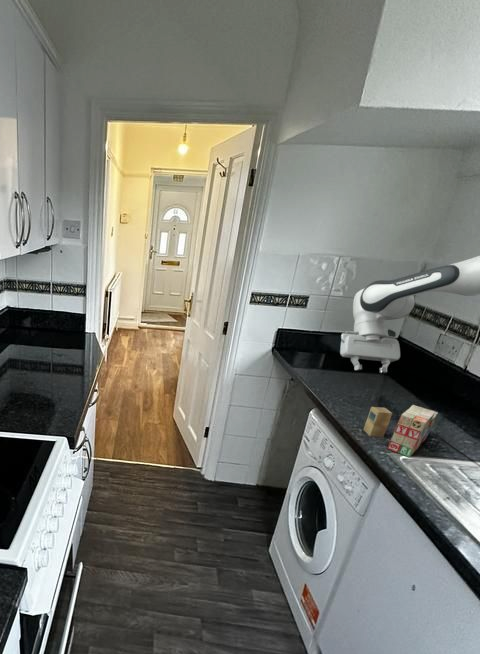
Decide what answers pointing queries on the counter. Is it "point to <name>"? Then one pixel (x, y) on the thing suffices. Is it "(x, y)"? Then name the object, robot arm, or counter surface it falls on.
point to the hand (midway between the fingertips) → (370, 371)
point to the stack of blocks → (412, 430)
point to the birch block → (377, 421)
